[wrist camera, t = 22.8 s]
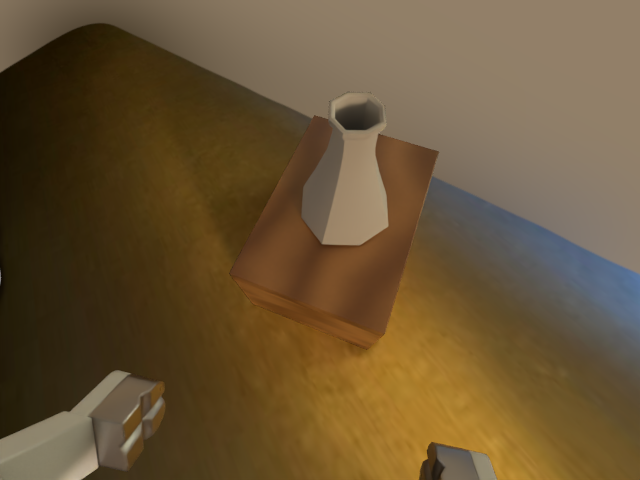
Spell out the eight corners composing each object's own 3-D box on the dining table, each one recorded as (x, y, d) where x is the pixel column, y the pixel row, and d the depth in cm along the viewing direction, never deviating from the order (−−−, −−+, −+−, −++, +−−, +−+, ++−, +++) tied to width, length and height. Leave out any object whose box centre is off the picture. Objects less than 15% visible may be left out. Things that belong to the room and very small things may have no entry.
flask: (290, 182, 27) (275, 79, 18) (370, 163, 28) (394, 55, 19) (314, 259, 24) (310, 181, 15) (402, 234, 25) (449, 147, 16)
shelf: (251, 303, 32) (228, 273, 24) (315, 173, 39) (314, 114, 31) (367, 350, 30) (384, 334, 22) (413, 204, 37) (439, 151, 29)
